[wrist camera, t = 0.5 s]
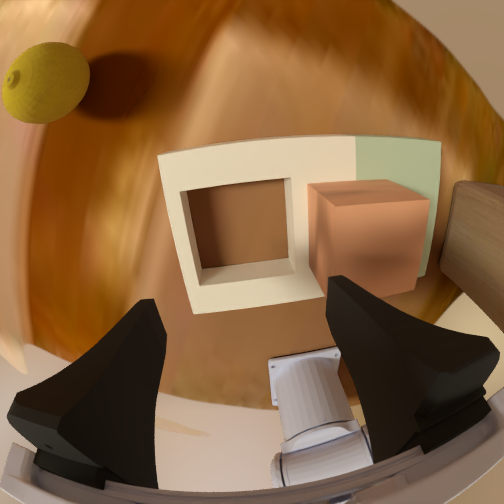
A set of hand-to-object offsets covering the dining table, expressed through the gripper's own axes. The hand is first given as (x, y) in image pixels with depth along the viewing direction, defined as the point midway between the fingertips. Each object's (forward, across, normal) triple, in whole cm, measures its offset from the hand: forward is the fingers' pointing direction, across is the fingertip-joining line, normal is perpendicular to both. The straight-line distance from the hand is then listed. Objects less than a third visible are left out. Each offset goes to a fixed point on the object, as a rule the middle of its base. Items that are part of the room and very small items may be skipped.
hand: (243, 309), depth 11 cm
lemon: (+10, +11, -13) cm, 20 cm away
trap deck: (+10, -6, 0) cm, 12 cm away
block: (+8, -8, 0) cm, 11 cm away
